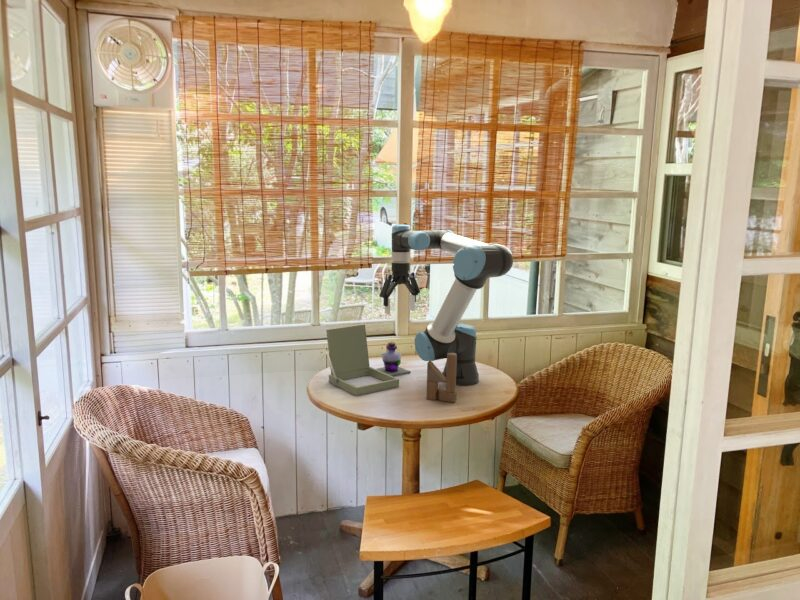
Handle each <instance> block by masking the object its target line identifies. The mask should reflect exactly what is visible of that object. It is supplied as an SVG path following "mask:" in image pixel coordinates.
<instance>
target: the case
mask: <svg viewBox="0 0 800 600" xmlns="http://www.w3.org/2000/svg"><path fill="white" fill-rule="evenodd" d="M325 331H326V340H327V348H328V350H325V351H324V352H325V354H326V358H327V361H328V363H329V366H330V367H329V368H330V374H329V375H328V383H330V384H332V385H334V386H335V387H338V388H339V389H342V390H344V391H346V392H348V393H350V394H351V395H353V396H356V397H357V396H362V395H367V394H371V393H376V392H380V391H384V390H389V389H394V388H398V387H399V386H400V379H399V378H397V377H396V376H394V377H393V376H391V375H388V374H386V373H384V372H381V371H379V370H377V368H374V367H372V366H370V358H369V350H368V339H367V330H366V324H358V325H352V326H351V325H350V326H344V327H339V328H338V327H336V328H331V329H330V328H329V329H325ZM365 375H366V376H371V375H372V376H371V377H374V378H376V379H378V380H381V381H379V382H374V383H369V384H365V385H364V384H363V385H360V386H356V385H353V384H351V383H349V382H347V381H345V380H350V379H356V378H360V376H361V377H366V376H365Z"/></svg>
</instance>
